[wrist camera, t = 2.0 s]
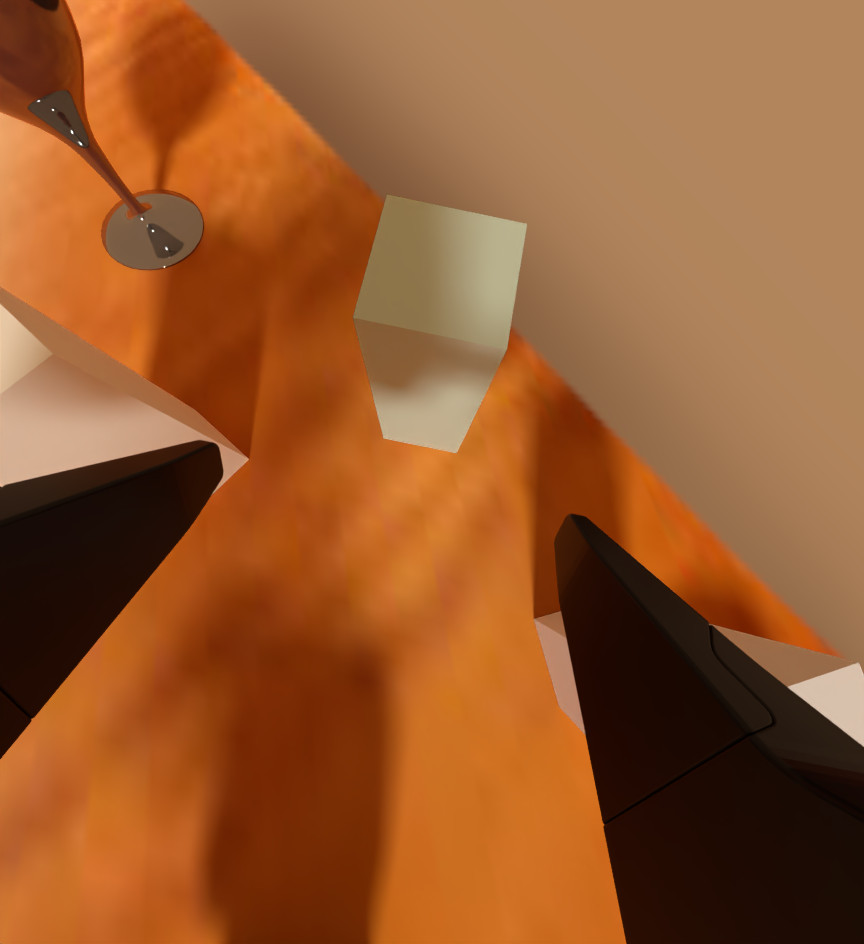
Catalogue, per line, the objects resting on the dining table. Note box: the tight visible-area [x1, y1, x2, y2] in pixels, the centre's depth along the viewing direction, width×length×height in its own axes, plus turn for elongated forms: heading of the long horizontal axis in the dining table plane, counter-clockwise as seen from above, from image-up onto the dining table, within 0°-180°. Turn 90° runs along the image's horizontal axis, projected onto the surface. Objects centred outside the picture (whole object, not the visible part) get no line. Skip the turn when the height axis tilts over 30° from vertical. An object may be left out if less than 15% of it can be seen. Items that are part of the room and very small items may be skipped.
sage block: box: [353, 194, 527, 453], centre depth 18 cm, size 5×5×12 cm
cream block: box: [0, 287, 249, 493], centre depth 16 cm, size 5×5×12 cm
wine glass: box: [0, 0, 204, 270], centre depth 18 cm, size 8×8×15 cm
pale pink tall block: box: [534, 611, 864, 746], centre depth 15 cm, size 5×5×12 cm
